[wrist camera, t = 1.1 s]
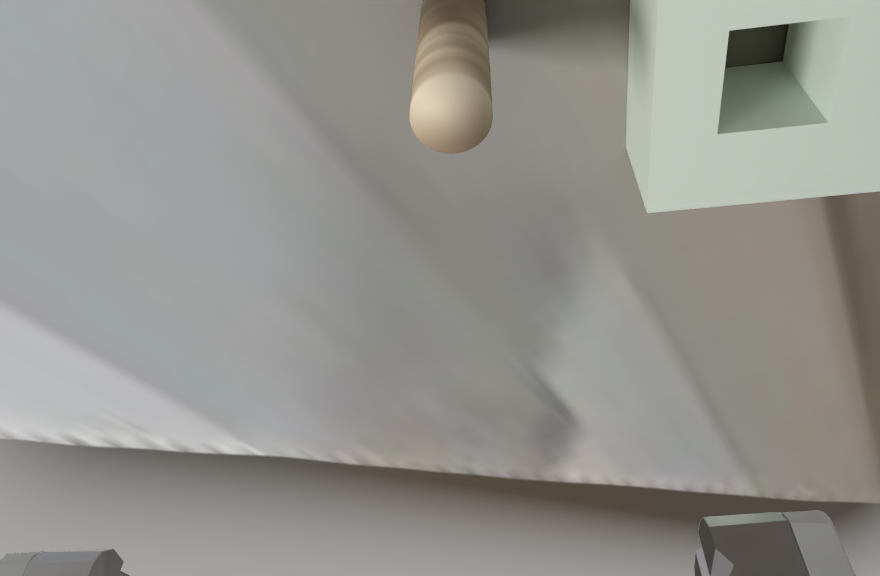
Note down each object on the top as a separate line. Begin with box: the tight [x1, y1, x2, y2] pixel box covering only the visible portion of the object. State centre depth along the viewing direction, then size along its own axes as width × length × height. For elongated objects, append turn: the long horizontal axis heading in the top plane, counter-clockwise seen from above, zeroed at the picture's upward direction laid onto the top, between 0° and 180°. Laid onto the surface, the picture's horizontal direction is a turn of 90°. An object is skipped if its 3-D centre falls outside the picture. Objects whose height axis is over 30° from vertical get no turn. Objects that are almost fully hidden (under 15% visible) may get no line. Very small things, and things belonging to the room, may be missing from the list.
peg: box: [410, 0, 493, 153], centre depth 31 cm, size 3×3×10 cm
